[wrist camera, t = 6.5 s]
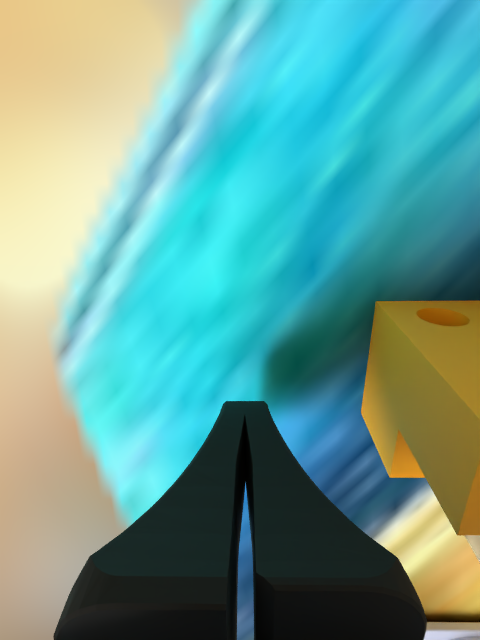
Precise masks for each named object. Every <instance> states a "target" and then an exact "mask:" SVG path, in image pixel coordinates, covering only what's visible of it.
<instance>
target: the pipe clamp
mask: <svg viewBox="0 0 480 640" xmlns="http://www.w3.org/2000/svg"><path fill="white" fill-rule="evenodd" d="M361 414H362V416H363V418H364V421H365V423H366V425H367V427H368V430H369V432H370V434H371V436H372V439H373V441H374V443H375V445H376V448H377V450H378V452H379V454H380V457H381V459H382V461H383V464H384V466H385V468H386V470H387V473H388V475H389V477H390V478H426V479H427V481H428V483H429V485H430V487H431V489H432V490H433V492H434V494H435V496H436V498H437V499H438V501H439V503H440V505H441V507H442V508H443V510H444V512H445V514H446V516H447V518H448V519H449V521H450V523H451V525H452V527H453V528H454V530H455V532H456V534H457V535H480V301H376V304H375V312H374V319H373V327H372V334H371V342H370V349H369V357H368V364H367V372H366V379H365V387H364V394H363V402H362V409H361Z"/></svg>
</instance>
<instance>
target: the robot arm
mask: <svg viewBox="0 0 480 640" xmlns="http://www.w3.org/2000/svg"><path fill="white" fill-rule="evenodd" d="M245 482H246V489H247V500H248V510H249V520H250V530H251V540H252V552H253V587H254V640H480V622H427V618H426V616H425V613H424V610H423V607H422V604H421V601H420V599H419V597H418V595H417V593H416V591H415V589H414V587H413V585H412V583H411V581H410V579H409V577H408V575H407V573H406V572H405V570H404V568H403V566H402V564H401V563H400V561H399V559H398V558H397V557H396V556H395V555H393V554H392V553H391V552H389V551H388V550H387V549H385V548H384V547H383V546H381V545H380V544H378V543H377V542H376V541H374V540H373V539H372V538H370V537H369V536H368V535H366V534H365V533H364V532H363V531H362V530H361V529H359V528H358V527H357V526H356V525H355V524H354V523H352V522H351V521H350V520H349V519H348V518H347V517H346V516H345V515H344V514H343V513H342V512H341V511H340V510H339V509H338V508H337V507H336V506H335V505H334V504H333V503H332V502H331V501H330V500H329V499H328V498H327V497H326V496H325V495H324V494H323V493H322V492H321V490H320V489H319V488H318V487H317V486H316V485H315V483H314V482H313V481H312V480H311V479H310V477H309V476H308V475H307V474H306V472H305V471H304V470H303V468H302V467H301V466H300V464H299V463H298V461H297V460H296V459H295V457H294V456H293V454H292V453H291V451H290V449H289V448H288V446H287V445H286V443H285V441H284V440H283V438H282V436H281V434H280V433H279V431H278V429H277V427H276V425H275V423H274V421H273V419H272V416H271V414H270V411H269V409H268V405H267V404H266V403H265V402H264V401H226V402H225V403H224V404H223V406H222V409H221V411H220V414H219V416H218V418H217V420H216V422H215V424H214V426H213V428H212V430H211V432H210V433H209V435H208V437H207V438H206V440H205V442H204V443H203V445H202V447H201V448H200V450H199V451H198V452H197V454H196V455H195V457H194V458H193V460H192V461H191V463H190V464H189V465H188V467H187V468H186V469H185V470H184V472H183V473H182V474H181V475H180V477H179V478H178V479H177V480H176V481H175V483H174V484H173V485H172V486H171V487H170V488H169V489H168V490H167V491H166V492H165V494H164V495H163V496H162V497H161V498H160V499H159V500H158V501H157V502H156V503H155V504H154V505H153V506H152V507H151V508H150V509H149V510H148V511H146V512H145V513H144V514H143V515H142V516H141V517H140V518H139V519H137V520H136V521H135V522H134V523H133V524H132V525H131V526H130V527H128V528H127V529H126V530H125V531H124V532H122V533H121V534H120V535H118V536H117V537H116V538H114V539H113V540H112V541H110V542H109V543H108V544H106V545H105V546H104V547H102V548H101V549H100V550H98V551H97V552H95V553H94V554H92V555H91V556H90V557H89V559H88V560H87V562H86V564H85V566H84V567H83V569H82V571H81V573H80V575H79V577H78V578H77V580H76V582H75V584H74V586H73V588H72V590H71V592H70V594H69V596H68V599H67V602H66V604H65V607H64V609H63V612H62V614H61V617H60V619H59V622H58V625H57V627H56V631H55V633H54V640H237V583H238V553H239V541H240V531H241V522H242V512H243V502H244V492H245Z"/></svg>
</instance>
